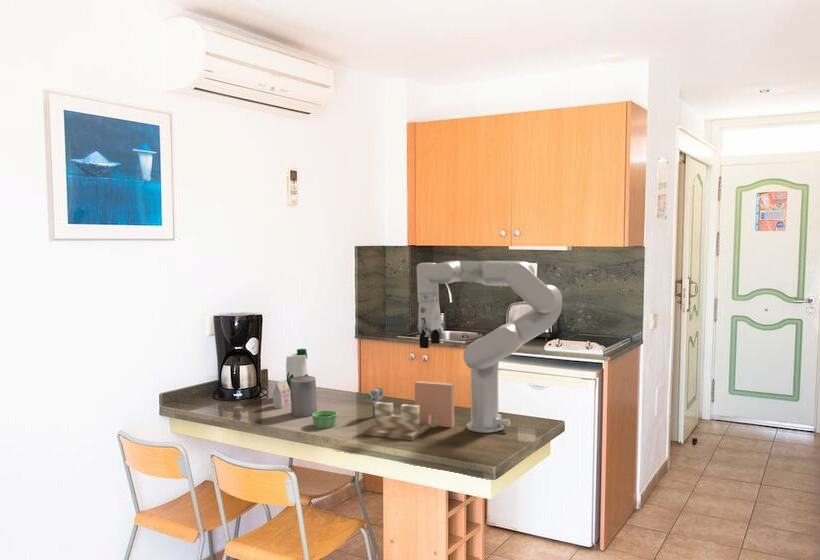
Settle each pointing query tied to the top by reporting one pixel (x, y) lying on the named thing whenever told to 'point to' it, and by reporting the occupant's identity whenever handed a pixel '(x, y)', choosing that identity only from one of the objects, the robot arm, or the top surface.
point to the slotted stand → (397, 422)
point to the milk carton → (296, 365)
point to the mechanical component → (374, 397)
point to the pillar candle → (303, 396)
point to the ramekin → (324, 419)
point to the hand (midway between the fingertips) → (429, 345)
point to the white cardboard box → (281, 395)
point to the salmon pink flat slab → (435, 402)
